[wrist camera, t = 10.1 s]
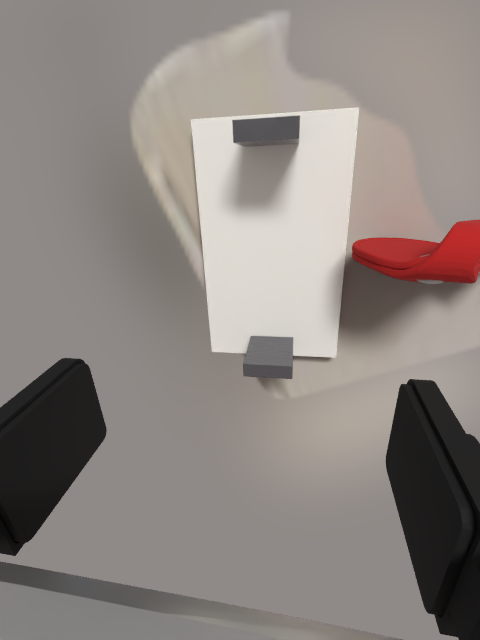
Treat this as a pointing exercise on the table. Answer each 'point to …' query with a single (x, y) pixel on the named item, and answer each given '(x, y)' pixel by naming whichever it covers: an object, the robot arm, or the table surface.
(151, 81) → the table surface
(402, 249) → the red curved piece
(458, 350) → the table surface
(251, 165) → the board
